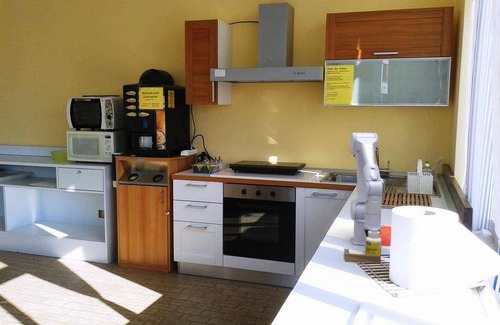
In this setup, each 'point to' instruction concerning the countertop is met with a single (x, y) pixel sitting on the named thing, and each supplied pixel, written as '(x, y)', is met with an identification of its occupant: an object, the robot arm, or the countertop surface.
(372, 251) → the supplement bottle
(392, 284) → the countertop surface
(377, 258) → the wooden l-shaped block
